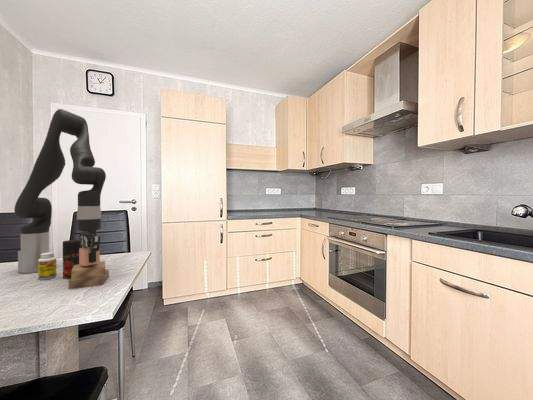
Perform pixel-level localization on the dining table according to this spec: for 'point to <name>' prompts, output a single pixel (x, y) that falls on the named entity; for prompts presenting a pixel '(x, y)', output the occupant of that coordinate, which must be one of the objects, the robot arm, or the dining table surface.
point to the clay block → (87, 257)
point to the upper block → (87, 271)
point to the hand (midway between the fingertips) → (89, 261)
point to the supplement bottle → (47, 266)
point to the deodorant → (70, 256)
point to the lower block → (88, 281)
